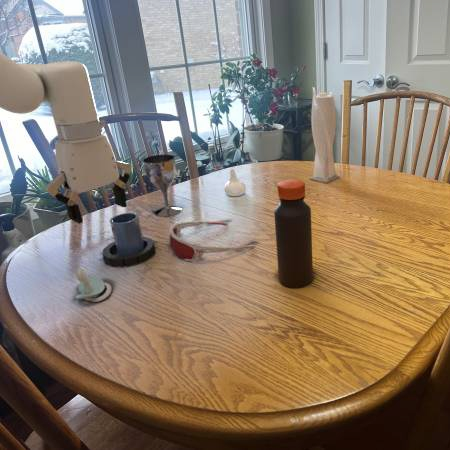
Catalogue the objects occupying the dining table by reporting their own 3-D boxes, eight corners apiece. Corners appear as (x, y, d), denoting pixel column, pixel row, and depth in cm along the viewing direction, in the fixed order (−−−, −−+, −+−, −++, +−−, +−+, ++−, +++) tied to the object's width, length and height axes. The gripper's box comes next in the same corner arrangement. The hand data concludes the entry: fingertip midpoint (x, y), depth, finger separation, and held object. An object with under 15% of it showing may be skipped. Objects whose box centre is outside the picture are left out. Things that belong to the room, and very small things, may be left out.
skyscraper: (306, 178, 141) (302, 88, 129) (321, 172, 147) (319, 85, 135) (326, 183, 136) (325, 90, 124) (341, 176, 142) (341, 86, 130)
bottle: (316, 285, 84) (313, 188, 75) (281, 291, 83) (275, 192, 74) (308, 268, 90) (305, 176, 82) (276, 272, 89) (269, 179, 80)
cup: (128, 263, 95) (119, 226, 91) (113, 256, 98) (104, 219, 94) (151, 252, 99) (143, 216, 95) (136, 246, 102) (128, 210, 98)
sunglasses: (159, 240, 104) (159, 220, 102) (225, 233, 113) (226, 215, 111) (183, 271, 90) (184, 249, 89) (256, 260, 99) (258, 239, 98)
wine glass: (148, 211, 121) (137, 159, 115) (174, 203, 126) (165, 152, 119) (161, 219, 116) (150, 165, 109) (188, 211, 120) (179, 158, 114)
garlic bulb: (248, 190, 133) (246, 164, 130) (243, 197, 128) (240, 171, 124) (228, 189, 134) (225, 164, 131) (222, 197, 129) (219, 171, 125)
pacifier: (113, 283, 88) (81, 288, 86) (107, 255, 85) (74, 260, 84) (110, 303, 82) (75, 308, 80) (104, 274, 79) (67, 279, 78)
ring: (122, 272, 91) (120, 264, 91) (94, 258, 97) (92, 250, 97) (164, 251, 99) (163, 243, 98) (136, 239, 105) (135, 232, 104)
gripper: (111, 120, 91) (127, 197, 98) (22, 138, 79) (49, 223, 86) (131, 124, 87) (147, 203, 94) (41, 143, 75) (67, 233, 82)
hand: (100, 213), depth 90 cm, fingers open, 9 cm apart
